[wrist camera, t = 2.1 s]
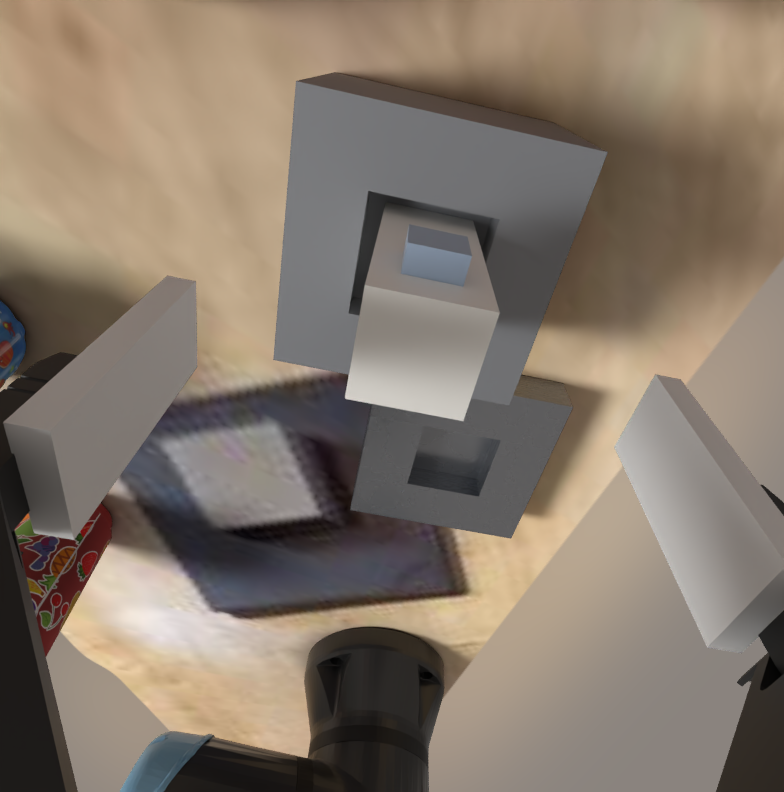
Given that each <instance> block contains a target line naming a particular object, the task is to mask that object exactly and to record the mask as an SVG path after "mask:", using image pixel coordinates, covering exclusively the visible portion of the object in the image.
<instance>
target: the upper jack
mask: <svg viewBox="0 0 784 792" xmlns="http://www.w3.org/2000/svg"><path fill="white" fill-rule="evenodd" d="M607 153H608V152H606V151H605V150H603V149H601V148H599V147H597V146H595V145H593V144H592V143H590V142H588V141H586V140H584V139H582V138H581V137H579V136H577V135H575V134H573V133H571V132H570V131H568V130H566V129H564V128H562V127H560V126H559V125H557V124H555V123H552V122H548V121H543V120H539V119H535V118H530V117H526V116H522V115H517V114H513V113H509V112H504V111H500V110H496V109H491V108H487V107H483V106H478V105H474V104H470V103H465V102H461V101H457V100H452V99H448V98H444V97H439V96H435V95H431V94H426V93H422V92H418V91H413V90H409V89H405V88H400V87H396V86H392V85H387V84H383V83H379V82H374V81H370V80H366V79H361V78H357V77H353V76H348V75H344V74H340V73H335V72H334V73H330V74H325V75H321V76H316V77H312V78H308V79H303V80H299V81H296V89H295V101H294V114H293V126H292V138H291V150H290V163H289V175H288V187H287V200H286V212H285V224H284V237H283V249H282V261H281V274H280V286H279V298H278V310H277V323H276V335H275V347H274V360H277V361H282V362H287V363H292V364H297V365H303V366H308V367H313V368H318V369H323V370H328V371H333V372H339V373H344V374H349V372H350V366H351V360H352V355H353V349H354V343H355V338H356V332H357V326H358V321H359V315H360V309H361V304H362V298H363V292H364V287H365V282H366V278H367V274H368V270H369V267H370V263H371V259H372V255H373V251H374V247H375V243H376V239H377V235H378V231H379V227H380V223H381V220H382V216H383V212H384V208H385V204H386V202H388V203H393V204H398V205H402V206H407V207H412V208H416V209H421V210H425V211H430V212H435V213H439V214H444V215H449V216H453V217H458V218H462V219H467V220H472V221H473V222H474V226H475V229H476V232H477V236H478V239H479V243H480V246H481V250H482V253H483V257H484V260H485V263H486V267H487V270H488V274H489V277H490V281H491V284H492V288H493V291H494V294H495V298H496V301H497V305H498V308H499V312H500V314H499V317H498V320H497V323H496V326H495V329H494V332H493V335H492V337H491V340H490V343H489V346H488V349H487V352H486V355H485V358H484V361H483V364H482V367H481V370H480V373H479V376H478V379H477V382H476V385H475V388H474V391H473V394H472V397H471V398H473V399H478V400H483V401H488V402H493V403H498V404H504V405H510V402H511V400H512V397H513V394H514V392H515V389H516V387H517V384H518V382H519V379H520V376H521V374H522V371H523V369H524V366H525V364H526V361H527V358H528V356H529V353H530V351H531V348H532V346H533V343H534V341H535V338H536V335H537V333H538V330H539V328H540V325H541V323H542V320H543V317H544V315H545V312H546V310H547V307H548V305H549V302H550V299H551V297H552V294H553V292H554V289H555V287H556V284H557V281H558V279H559V276H560V274H561V271H562V269H563V266H564V263H565V261H566V258H567V256H568V253H569V251H570V248H571V245H572V243H573V240H574V238H575V235H576V233H577V230H578V228H579V225H580V222H581V220H582V217H583V215H584V212H585V210H586V207H587V204H588V202H589V199H590V197H591V194H592V192H593V189H594V186H595V184H596V181H597V179H598V176H599V174H600V171H601V168H602V166H603V163H604V161H605V158H606V156H607Z"/></svg>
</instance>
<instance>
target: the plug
mask: <svg viewBox="0 0 784 792" xmlns="http://www.w3.org/2000/svg"><path fill="white" fill-rule="evenodd" d="M499 314H500V312H499V308H498V305H497V301H496V298H495V294H494V291H493V288H492V284H491V281H490V277H489V274H488V270H487V267H486V263H485V260H484V257H483V253H482V250H481V246H480V243H479V239H478V236H477V232H476V229H475V226H474V222H473V221H472V220H467V219H462V218H458V217H453V216H449V215H444V214H439V213H435V212H430V211H425V210H421V209H416V208H412V207H407V206H402V205H398V204H393V203H388V202H386V204H385V208H384V212H383V216H382V220H381V223H380V227H379V231H378V235H377V239H376V243H375V247H374V251H373V255H372V259H371V263H370V267H369V270H368V274H367V278H366V282H365V287H364V292H363V298H362V304H361V309H360V315H359V321H358V326H357V332H356V338H355V343H354V349H353V355H352V360H351V366H350V372H349V377H348V383H347V389H346V394H345V399H349V400H355V401H360V402H365V403H370V404H376V405H381V406H386V407H391V408H396V409H402V410H407V411H412V412H417V413H423V414H428V415H433V416H438V417H444V418H449V419H454V420H459V421H464V418H465V415H466V412H467V409H468V406H469V403H470V400H471V397H472V394H473V391H474V388H475V385H476V382H477V379H478V376H479V373H480V370H481V367H482V364H483V361H484V358H485V355H486V352H487V349H488V346H489V343H490V340H491V337H492V335H493V332H494V329H495V326H496V323H497V320H498V317H499Z"/></svg>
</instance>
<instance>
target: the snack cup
mask: <svg viewBox="0 0 784 792" xmlns="http://www.w3.org/2000/svg"><path fill="white" fill-rule="evenodd" d="M24 335H25V330H24V327H23V325H22V324H21V322H19V321H17V320H16V318H15V317H14V315H13V313H12V312H11V311H10V309H9V308H8V307H7V306H6V305H5V304H4V303H2V302H1V301H0V388H1V387H2V386H3V385H4V383H5V381H6V380H7V379H8V378H9V377H10V376H11V375H13V373H14V372H15V371H16V370H17V369H18V367H19V365H20V363H21V361H22V360H23V357H24V354H25V350H26V342H25V340H24Z"/></svg>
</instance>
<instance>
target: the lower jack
mask: <svg viewBox="0 0 784 792" xmlns="http://www.w3.org/2000/svg"><path fill="white" fill-rule="evenodd" d="M572 409H573V406H572V403H571V401H570V399H569V396H568V394H567V391H566V389H565V387H564V384H563V383H559V382H554V381H549V380H544V379H539V378H534V377H529V376H524V375H521V376H520V379H519V382H518V384H517V387H516V389H515V392H514V394H513V397H512V400H511V402H510V405H504V404H498V403H493V402H488V401H483V400H478V399H473V398H471V400H470V403H469V406H468V409H467V412H466V415H465V418H464V421H459V420H454V419H449V418H444V417H438V416H433V415H428V414H423V413H417V412H412V411H407V410H402V409H396V408H391V407H386V406H381V405H376V404H371V408H370V413H369V418H368V423H367V427H366V432H365V437H364V442H363V446H362V451H361V456H360V460H359V465H358V470H357V475H356V479H355V484H354V490H353V497H352V503H351V509H350V510H354V511H359V512H365V513H371V514H376V515H382V516H387V517H393V518H399V519H404V520H410V521H416V522H421V523H427V524H433V525H438V526H444V527H449V528H455V529H461V530H466V531H472V532H478V533H483V534H489V535H494V536H500V537H506V538H512V535H513V533H514V531H515V529H516V527H517V525H518V523H519V521H520V519H521V516H522V514H523V512H524V510H525V508H526V506H527V504H528V502H529V500H530V497H531V495H532V493H533V491H534V489H535V487H536V485H537V483H538V480H539V478H540V476H541V474H542V472H543V470H544V468H545V466H546V464H547V461H548V459H549V457H550V455H551V453H552V451H553V449H554V447H555V445H556V442H557V440H558V438H559V436H560V434H561V432H562V430H563V428H564V425H565V423H566V421H567V419H568V417H569V415H570V413H571V411H572Z"/></svg>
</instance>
